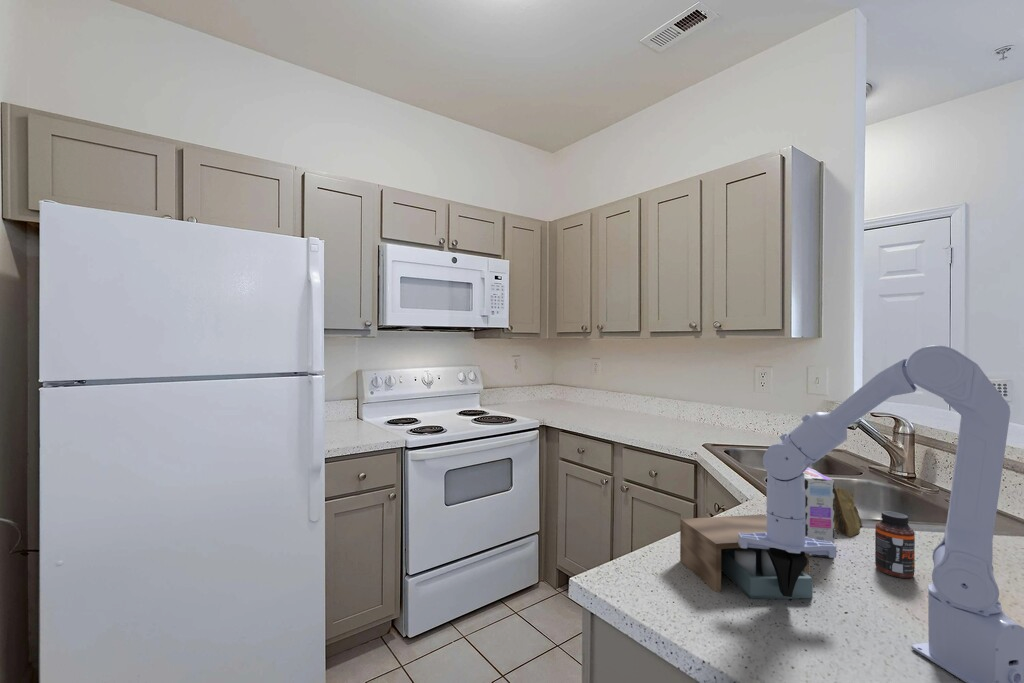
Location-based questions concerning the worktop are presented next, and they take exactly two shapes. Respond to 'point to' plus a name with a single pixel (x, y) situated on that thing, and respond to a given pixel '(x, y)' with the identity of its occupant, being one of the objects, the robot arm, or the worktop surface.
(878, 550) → the supplement bottle
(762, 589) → the tray
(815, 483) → the candy box
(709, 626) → the worktop surface
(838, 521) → the rock
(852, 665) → the worktop surface
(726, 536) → the shelf
